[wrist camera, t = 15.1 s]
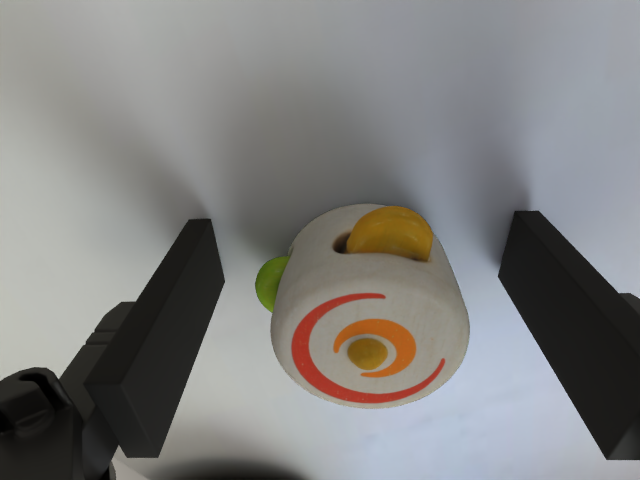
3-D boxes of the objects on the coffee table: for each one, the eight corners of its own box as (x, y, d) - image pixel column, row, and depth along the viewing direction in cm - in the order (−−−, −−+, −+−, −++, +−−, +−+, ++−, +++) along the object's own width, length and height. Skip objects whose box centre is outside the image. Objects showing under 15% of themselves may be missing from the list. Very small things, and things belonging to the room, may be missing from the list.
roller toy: (213, 351, 10) (345, 452, 12) (412, 224, 8) (534, 376, 10) (249, 260, 14) (346, 349, 16) (391, 155, 12) (483, 275, 14)
